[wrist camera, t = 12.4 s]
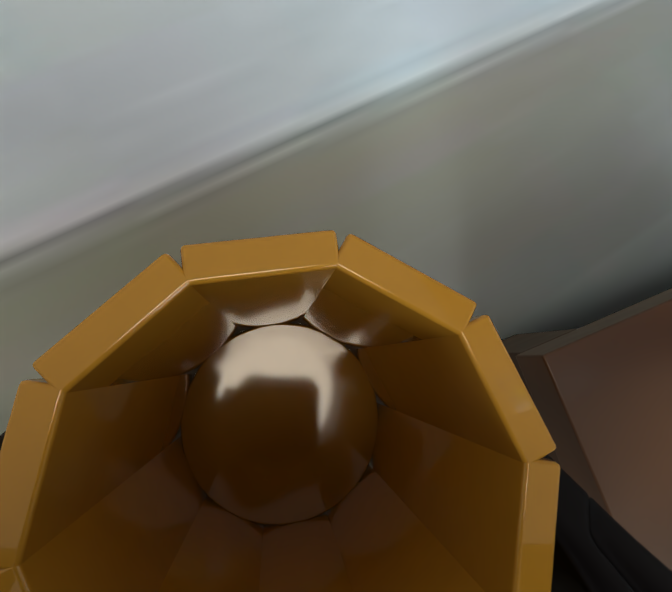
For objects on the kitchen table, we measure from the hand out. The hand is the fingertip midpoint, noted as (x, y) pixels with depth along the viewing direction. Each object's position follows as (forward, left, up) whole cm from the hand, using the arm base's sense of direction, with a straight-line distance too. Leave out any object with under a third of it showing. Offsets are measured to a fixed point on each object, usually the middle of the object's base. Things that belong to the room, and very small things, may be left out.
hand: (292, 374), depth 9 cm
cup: (-1, +1, -4) cm, 4 cm away
